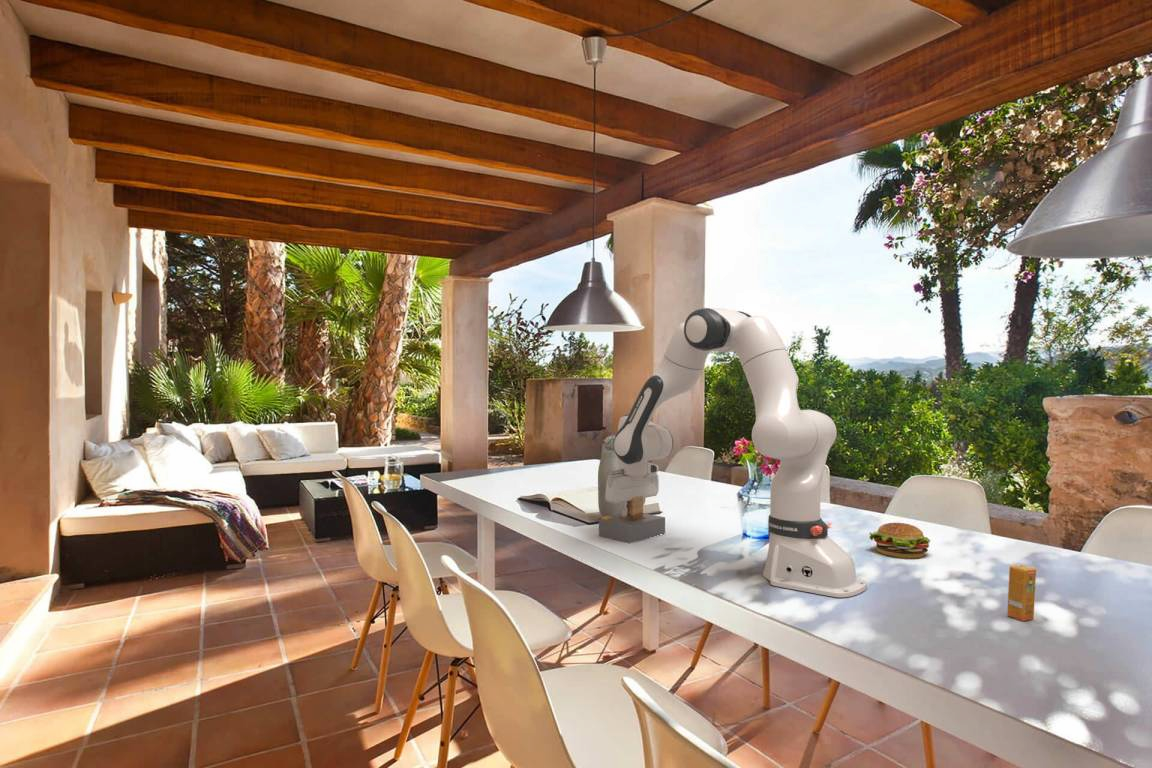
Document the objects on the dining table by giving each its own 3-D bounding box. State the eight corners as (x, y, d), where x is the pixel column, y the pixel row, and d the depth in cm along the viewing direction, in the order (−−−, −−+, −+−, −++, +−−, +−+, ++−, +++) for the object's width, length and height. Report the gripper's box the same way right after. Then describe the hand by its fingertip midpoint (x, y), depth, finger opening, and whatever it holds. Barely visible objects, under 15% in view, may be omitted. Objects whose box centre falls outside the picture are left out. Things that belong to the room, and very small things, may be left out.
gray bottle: (595, 518, 218) (596, 434, 218) (626, 517, 220) (626, 433, 219) (600, 524, 209) (600, 436, 208) (631, 523, 210) (632, 436, 210)
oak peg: (642, 526, 195) (642, 496, 195) (632, 529, 192) (632, 498, 192) (631, 524, 198) (631, 494, 198) (621, 526, 195) (621, 496, 195)
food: (898, 544, 184) (898, 516, 184) (940, 557, 171) (940, 527, 171) (858, 548, 180) (858, 519, 180) (898, 562, 167) (898, 530, 167)
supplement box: (1024, 622, 125) (1025, 569, 125) (1006, 616, 128) (1007, 565, 128) (1036, 619, 126) (1036, 568, 126) (1017, 613, 130) (1018, 563, 129)
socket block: (665, 534, 196) (665, 515, 196) (629, 543, 185) (629, 523, 185) (634, 527, 205) (634, 509, 205) (598, 535, 194) (598, 517, 194)
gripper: (616, 472, 185) (616, 521, 185) (662, 465, 199) (662, 511, 199) (600, 470, 190) (600, 518, 190) (646, 464, 204) (646, 508, 204)
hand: (632, 514), depth 195 cm, fingers closed on oak peg, 4 cm apart
